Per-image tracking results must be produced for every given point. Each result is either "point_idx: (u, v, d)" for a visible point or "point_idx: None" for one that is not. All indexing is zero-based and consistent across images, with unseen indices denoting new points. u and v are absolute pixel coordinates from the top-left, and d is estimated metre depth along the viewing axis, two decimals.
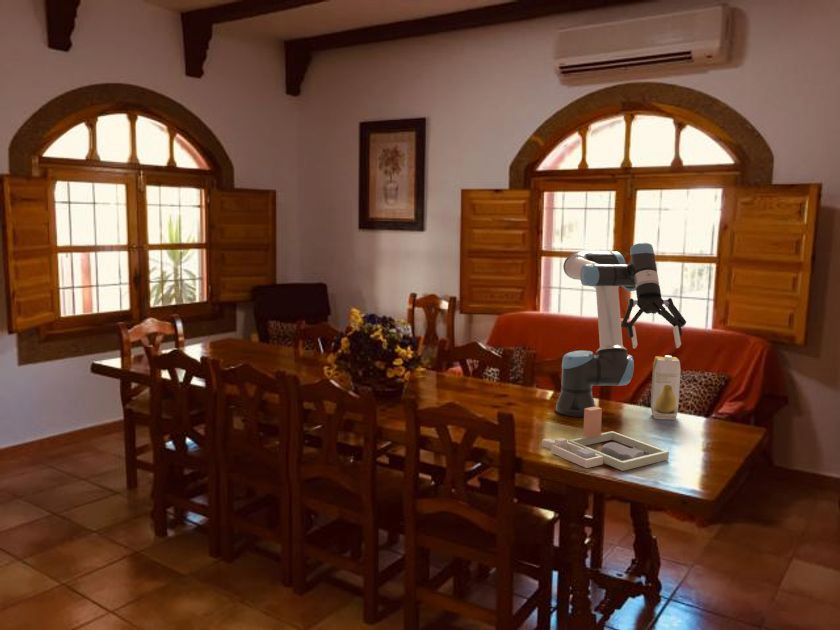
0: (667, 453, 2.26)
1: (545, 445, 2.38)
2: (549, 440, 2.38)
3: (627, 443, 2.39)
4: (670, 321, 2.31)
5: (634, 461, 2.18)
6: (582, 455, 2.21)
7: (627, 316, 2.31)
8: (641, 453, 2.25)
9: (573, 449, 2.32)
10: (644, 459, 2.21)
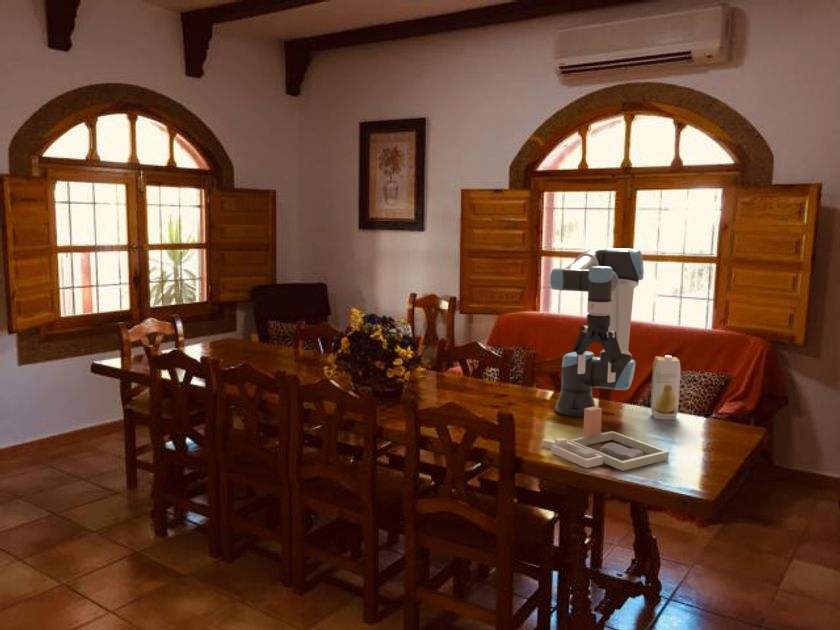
0: (667, 453, 2.26)
1: (545, 445, 2.38)
2: (549, 440, 2.38)
3: (627, 443, 2.39)
4: None
5: (634, 461, 2.18)
6: (582, 455, 2.21)
7: (576, 344, 2.43)
8: (640, 453, 2.25)
9: (573, 449, 2.32)
10: (644, 459, 2.21)
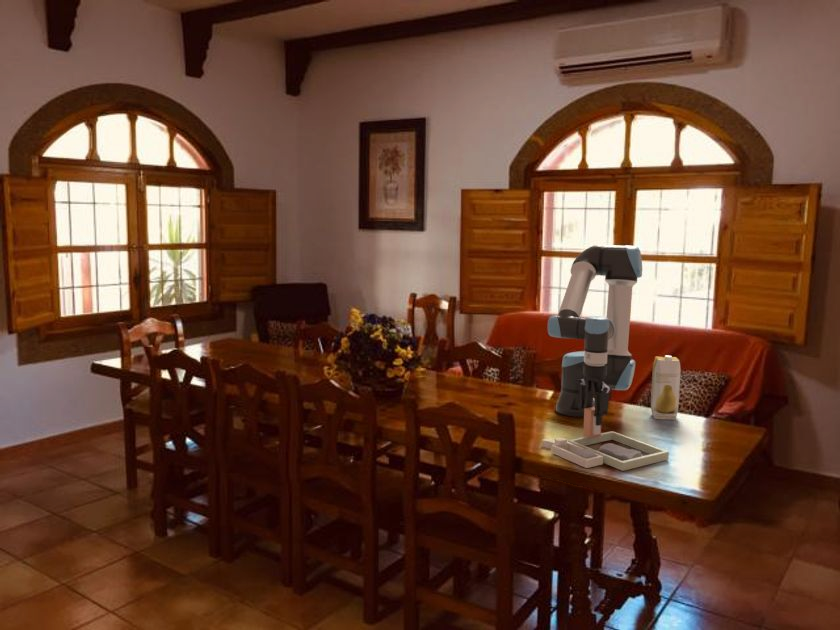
0: (667, 453, 2.26)
1: (545, 445, 2.38)
2: (549, 440, 2.38)
3: (627, 443, 2.39)
4: None
5: (634, 461, 2.18)
6: (582, 455, 2.21)
7: (580, 399, 2.42)
8: (638, 454, 2.24)
9: (573, 449, 2.32)
10: (644, 459, 2.21)
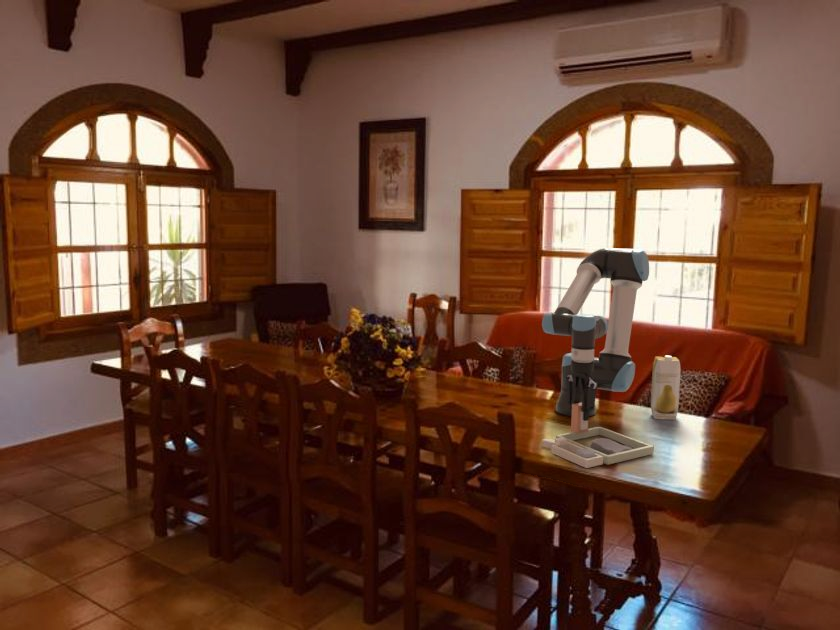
0: (652, 447, 2.31)
1: (545, 445, 2.38)
2: (549, 440, 2.38)
3: (614, 438, 2.45)
4: None
5: (619, 455, 2.23)
6: (582, 455, 2.21)
7: (568, 395, 2.48)
8: None
9: (573, 449, 2.32)
10: (629, 453, 2.26)
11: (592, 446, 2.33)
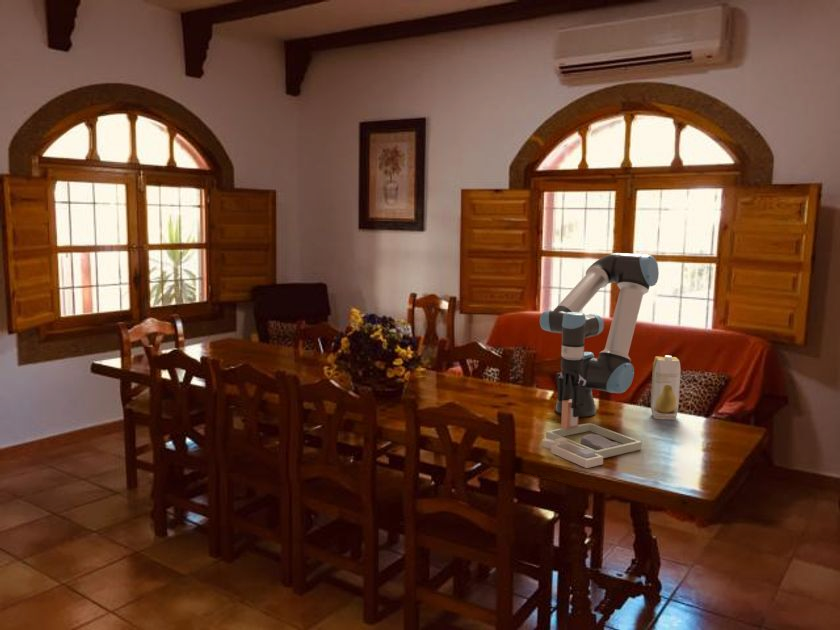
0: (640, 443, 2.35)
1: (545, 445, 2.38)
2: (549, 440, 2.38)
3: (603, 434, 2.49)
4: None
5: (608, 450, 2.28)
6: (582, 455, 2.21)
7: (559, 392, 2.52)
8: None
9: (573, 449, 2.32)
10: (617, 449, 2.30)
11: (582, 442, 2.38)
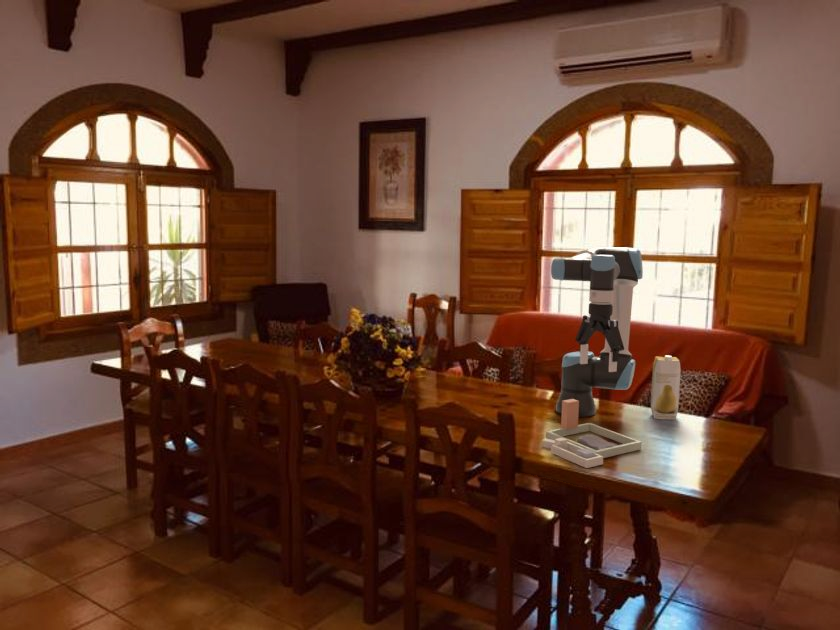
0: (640, 443, 2.35)
1: (545, 445, 2.38)
2: (549, 440, 2.38)
3: (603, 434, 2.49)
4: None
5: (608, 450, 2.28)
6: (582, 455, 2.21)
7: (579, 333, 2.41)
8: None
9: (573, 449, 2.32)
10: (617, 449, 2.30)
11: (578, 442, 2.37)
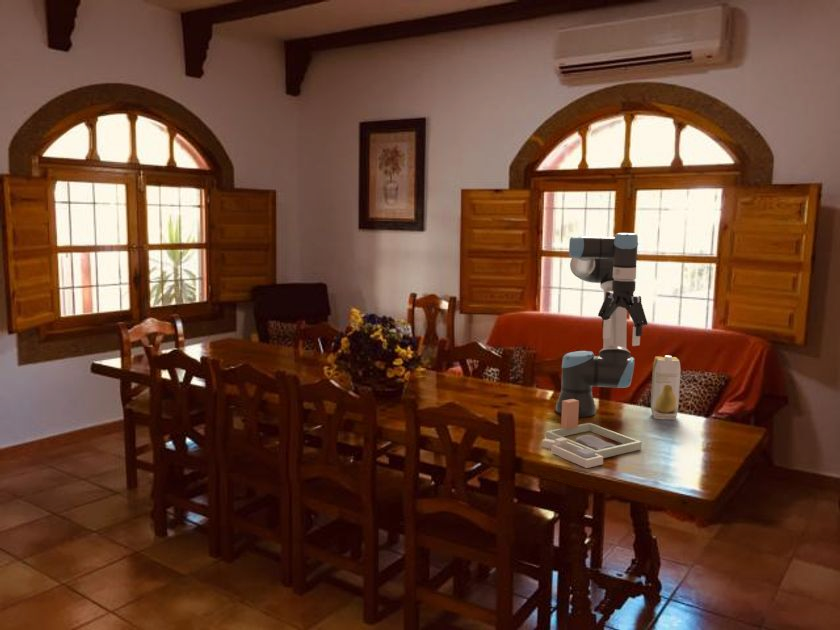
0: (640, 443, 2.35)
1: (545, 445, 2.38)
2: (549, 440, 2.38)
3: (603, 434, 2.49)
4: None
5: (608, 450, 2.28)
6: (582, 455, 2.21)
7: (602, 309, 2.50)
8: None
9: (573, 449, 2.32)
10: (617, 449, 2.30)
11: None
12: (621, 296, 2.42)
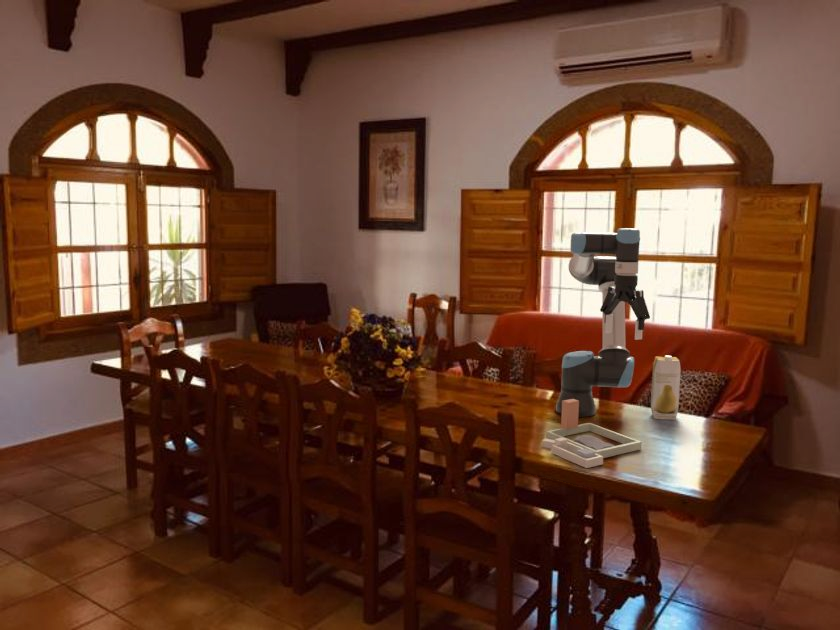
0: (640, 443, 2.35)
1: (545, 445, 2.38)
2: (549, 440, 2.38)
3: (603, 434, 2.49)
4: None
5: (608, 450, 2.28)
6: (582, 455, 2.21)
7: (604, 304, 2.52)
8: None
9: (573, 449, 2.32)
10: (617, 449, 2.30)
11: None
12: (623, 290, 2.44)
